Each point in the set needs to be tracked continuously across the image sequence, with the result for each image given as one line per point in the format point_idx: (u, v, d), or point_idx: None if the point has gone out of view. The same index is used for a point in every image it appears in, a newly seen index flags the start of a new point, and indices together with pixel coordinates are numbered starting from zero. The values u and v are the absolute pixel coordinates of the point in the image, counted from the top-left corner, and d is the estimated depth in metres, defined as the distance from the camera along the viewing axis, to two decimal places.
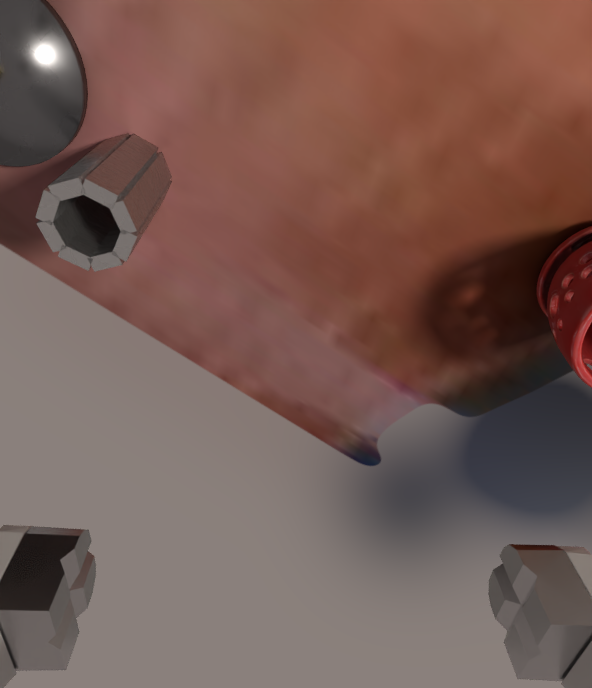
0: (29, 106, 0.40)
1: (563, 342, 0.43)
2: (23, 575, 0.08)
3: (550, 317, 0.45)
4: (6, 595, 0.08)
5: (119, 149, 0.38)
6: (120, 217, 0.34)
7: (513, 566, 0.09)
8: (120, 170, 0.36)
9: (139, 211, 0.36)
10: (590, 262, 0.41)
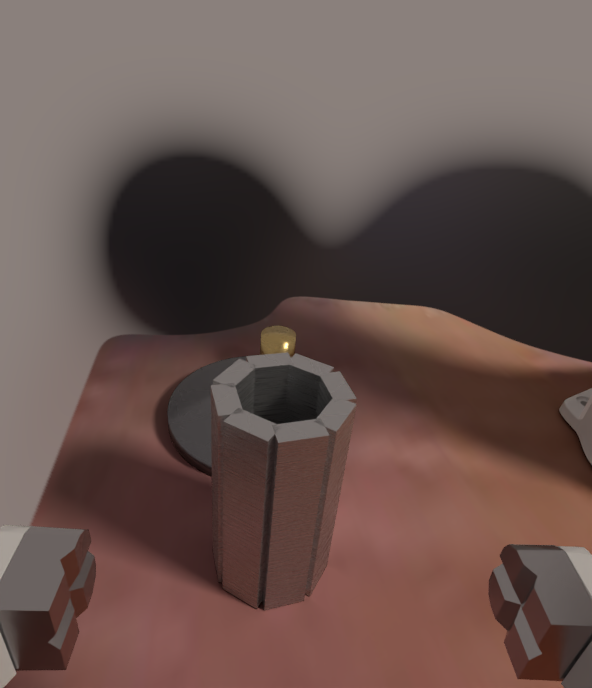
0: None
1: None
2: (23, 575, 0.08)
3: None
4: (6, 595, 0.08)
5: None
6: (334, 410, 0.22)
7: (513, 566, 0.09)
8: None
9: (338, 453, 0.23)
10: None
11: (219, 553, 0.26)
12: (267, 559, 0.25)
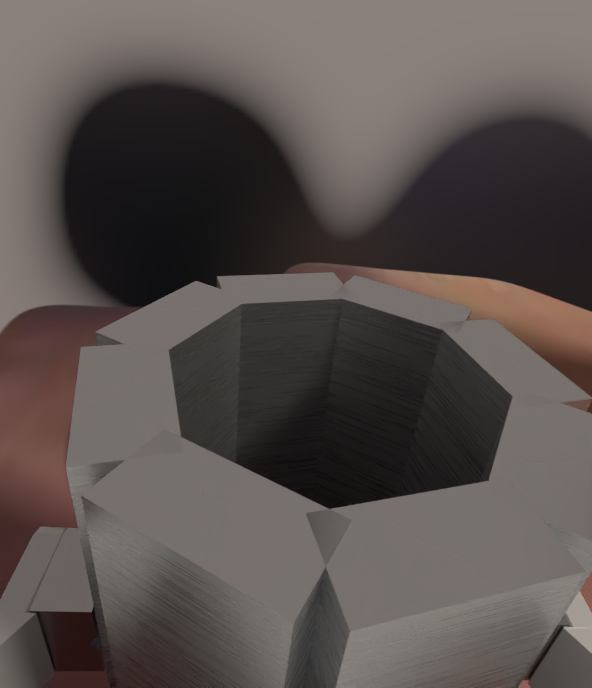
0: None
1: None
2: (63, 576, 0.08)
3: None
4: (48, 596, 0.08)
5: None
6: (542, 444, 0.06)
7: None
8: None
9: None
10: None
11: None
12: None
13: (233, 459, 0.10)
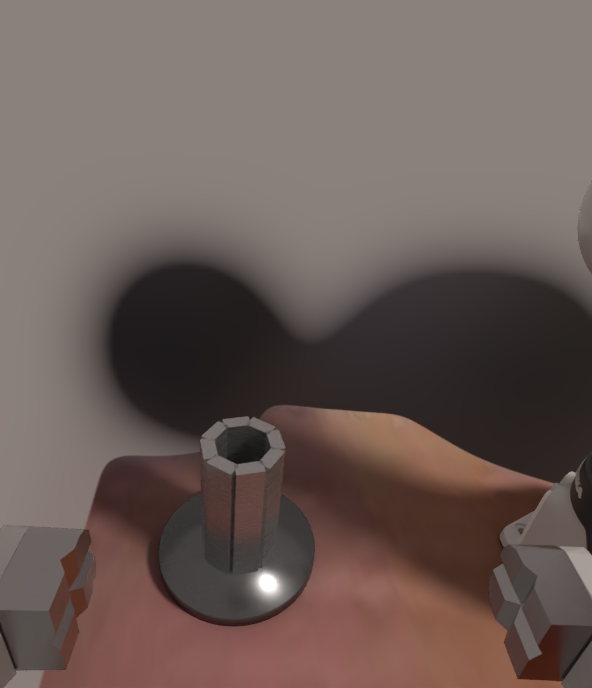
0: (236, 576, 0.43)
1: None
2: (23, 575, 0.08)
3: None
4: (6, 595, 0.08)
5: None
6: (270, 455, 0.39)
7: (513, 566, 0.09)
8: None
9: (273, 480, 0.39)
10: None
11: (205, 540, 0.43)
12: (233, 543, 0.41)
13: (226, 458, 0.43)
